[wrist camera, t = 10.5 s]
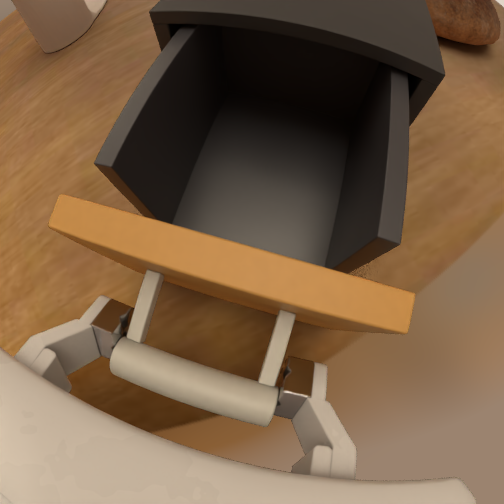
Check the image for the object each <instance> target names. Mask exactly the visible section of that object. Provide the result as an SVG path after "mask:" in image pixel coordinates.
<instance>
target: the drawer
mask: <svg viewBox="0 0 504 504" xmlns="http://www.w3.org/2000/svg"><path fill="white" fill-rule="evenodd" d="M408 156H409V89H408V73H407V72H405V71H403V70H400V69H398V68H395V67H393V66H390V65H387V64H385V63H382V62H379V61H377V60H374V59H371V58H368V57H365V56H362V55H359V54H356V53H353V52H350V51H346V50H343V49H340V48H336V47H333V46H329V45H325V44H321V43H318V42H314V41H309V40H305V39H301V38H296V37H291V36H286V35H281V34H276V33H270V32H264V31H258V30H251V29H243V28H235V27H225V26H214V25H199V24H183V25H182V26H181V27H180V29H179V30H178V31H177V32H176V34H175V35H174V36H173V37H172V39H171V40H170V41H169V43H168V44H167V45H166V47H165V48H164V49H163V51H162V52H161V53H160V55H159V56H158V57H157V59H156V60H155V61H154V63H153V64H152V66H151V67H150V69H149V70H148V71H147V73H146V74H145V76H144V77H143V79H142V80H141V82H140V83H139V85H138V86H137V88H136V89H135V91H134V93H133V94H132V96H131V97H130V99H129V101H128V102H127V104H126V105H125V107H124V109H123V110H122V112H121V114H120V116H119V117H118V119H117V121H116V122H115V124H114V126H113V128H112V130H111V131H110V133H109V135H108V137H107V139H106V141H105V142H104V144H103V146H102V148H101V150H100V152H99V154H98V156H97V158H96V160H95V162H94V164H95V165H96V166H97V167H98V169H99V170H100V171H101V172H102V173H103V174H104V175H105V176H106V177H107V178H108V179H109V180H110V181H111V182H112V183H113V185H114V186H115V187H116V188H117V189H118V190H119V191H120V192H121V193H122V194H123V195H124V196H125V197H126V198H127V199H128V200H129V201H130V202H131V203H132V204H133V205H134V206H135V207H136V208H137V209H138V210H139V211H140V212H141V213H142V214H143V216H141V215H137V214H133V213H130V212H126V211H123V210H119V209H115V208H112V207H108V206H105V205H101V204H97V203H94V202H90V201H86V200H83V199H79V198H75V197H72V196H68V195H64V194H60V195H59V198H58V200H57V202H56V205H55V207H54V210H53V212H52V215H51V217H50V220H49V222H48V227H49V228H50V229H52V230H54V231H56V232H58V233H60V234H62V235H64V236H66V237H68V238H69V239H71V240H73V241H75V242H77V243H79V244H81V245H83V246H85V247H87V248H89V249H91V250H93V251H95V252H97V253H99V254H101V255H103V256H105V257H108V258H110V259H112V260H114V261H116V262H118V263H120V264H122V265H124V266H126V267H129V268H131V269H133V270H135V271H137V272H140V273H143V274H145V277H144V280H143V283H142V286H141V289H140V292H139V295H138V299H137V302H136V305H135V309H134V312H133V315H132V319H131V322H130V326H129V329H128V333H127V337H126V336H125V337H122V338H121V339H120V340H119V341H118V342H117V344H116V345H115V347H114V349H113V352H112V354H111V358H110V371H111V372H112V374H114V375H116V376H118V377H120V378H123V379H125V380H127V381H129V382H132V383H134V384H136V385H139V386H141V387H143V388H146V389H148V390H151V391H153V392H156V393H158V394H161V395H163V396H166V397H169V398H171V399H174V400H177V401H180V402H182V403H185V404H188V405H191V406H194V407H197V408H200V409H203V410H206V411H209V412H212V413H216V414H219V415H222V416H226V417H229V418H233V419H237V420H240V421H243V422H247V423H251V424H255V425H259V426H263V427H267V426H268V425H269V423H270V422H271V420H272V417H273V415H274V412H275V408H276V405H277V401H278V396H279V388H278V387H277V386H275V384H276V381H277V378H278V374H279V371H280V368H281V365H282V361H283V358H284V355H285V351H286V348H287V345H288V341H289V338H290V335H291V331H292V328H293V324H294V321H295V320H297V321H300V322H304V323H308V324H312V325H316V326H319V327H323V328H327V329H332V330H344V331H357V332H371V333H389V334H407V333H408V330H409V325H410V321H411V316H412V311H413V306H414V301H415V294H414V293H412V292H409V291H405V290H402V289H398V288H395V287H391V286H388V285H384V284H381V283H378V282H374V281H371V280H367V279H364V278H360V277H357V276H353V275H350V274H348V273H350V272H352V271H354V270H355V269H357V268H359V267H361V266H363V265H365V264H366V263H368V262H370V261H372V260H374V259H375V258H377V257H379V256H381V255H383V254H384V253H386V252H388V251H390V250H391V249H393V248H395V247H397V246H398V245H400V243H401V236H402V228H403V220H404V211H405V201H406V189H407V175H408ZM163 281H166V282H169V283H172V284H176V285H179V286H182V287H185V288H188V289H191V290H194V291H197V292H200V293H204V294H207V295H210V296H213V297H217V298H220V299H223V300H226V301H230V302H233V303H236V304H240V305H243V306H247V307H250V308H254V309H257V310H260V311H264V312H268V313H271V314H275V315H277V317H276V321H275V324H274V328H273V331H272V335H271V338H270V341H269V345H268V348H267V351H266V355H265V358H264V361H263V364H262V368H261V371H260V374H259V377H258V381H255V380H252V379H248V378H245V377H241V376H238V375H234V374H231V373H227V372H224V371H221V370H218V369H214V368H211V367H208V366H205V365H202V364H199V363H196V362H193V361H190V360H187V359H184V358H182V357H179V356H176V355H173V354H170V353H168V352H165V351H162V350H160V349H157V348H154V347H152V346H149V345H147V344H144V343H142V342H145V340H146V336H147V332H148V329H149V326H150V322H151V319H152V315H153V312H154V309H155V305H156V302H157V299H158V296H159V292H160V289H161V286H162V283H163Z"/></svg>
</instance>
